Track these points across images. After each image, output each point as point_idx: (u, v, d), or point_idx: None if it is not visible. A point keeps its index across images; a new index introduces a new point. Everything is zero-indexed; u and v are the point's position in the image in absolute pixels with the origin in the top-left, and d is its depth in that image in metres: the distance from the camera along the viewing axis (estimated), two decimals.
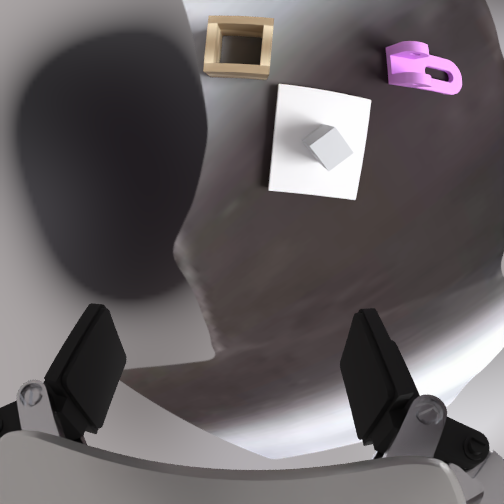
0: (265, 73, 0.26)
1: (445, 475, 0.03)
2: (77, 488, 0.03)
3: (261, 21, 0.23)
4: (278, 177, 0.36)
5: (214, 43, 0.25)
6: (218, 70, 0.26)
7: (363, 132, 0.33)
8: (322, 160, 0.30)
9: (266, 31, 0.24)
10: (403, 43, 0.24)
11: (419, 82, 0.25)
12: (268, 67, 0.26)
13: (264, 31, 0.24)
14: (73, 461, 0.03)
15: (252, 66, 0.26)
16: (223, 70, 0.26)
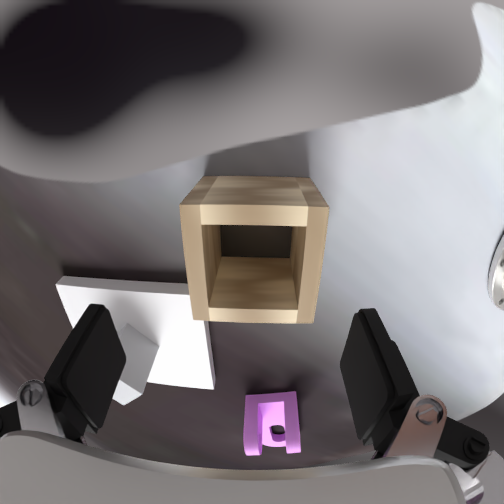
0: (194, 314, 0.16)
1: (445, 475, 0.03)
2: (77, 488, 0.03)
3: (306, 305, 0.16)
4: (73, 296, 0.22)
5: (252, 222, 0.14)
6: (185, 236, 0.14)
7: (169, 382, 0.27)
8: None
9: (282, 314, 0.16)
10: (296, 432, 0.24)
11: (246, 450, 0.24)
12: (206, 319, 0.16)
13: (283, 311, 0.16)
14: (73, 461, 0.03)
15: (203, 295, 0.16)
16: (186, 246, 0.14)
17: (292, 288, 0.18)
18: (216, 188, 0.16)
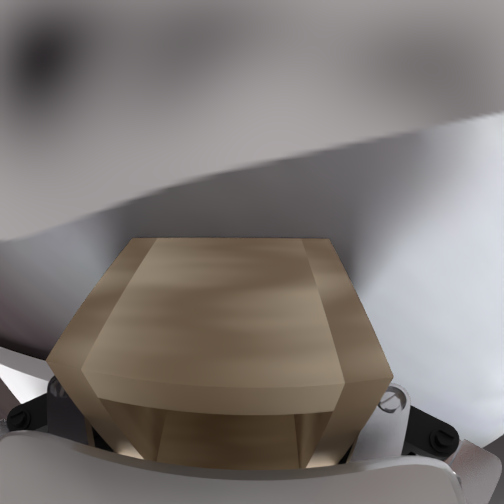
0: None
1: (445, 475, 0.03)
2: (77, 488, 0.03)
3: None
4: (8, 375, 0.13)
5: None
6: (79, 404, 0.05)
7: None
8: None
9: None
10: None
11: None
12: None
13: None
14: (73, 461, 0.03)
15: None
16: (87, 415, 0.06)
17: (292, 429, 0.09)
18: (137, 289, 0.07)
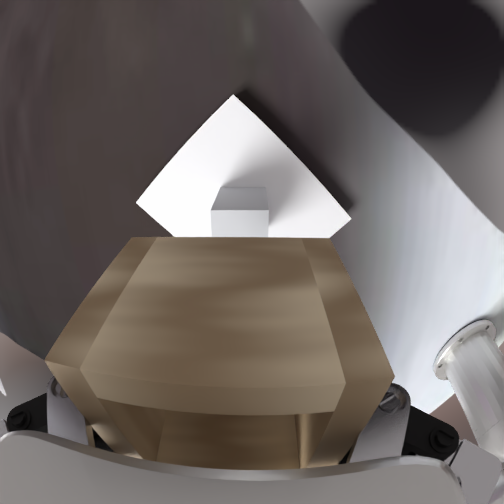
0: None
1: (445, 475, 0.03)
2: (77, 488, 0.03)
3: None
4: (240, 121, 0.20)
5: None
6: (78, 404, 0.05)
7: None
8: (233, 212, 0.18)
9: None
10: None
11: None
12: None
13: None
14: (73, 461, 0.03)
15: None
16: (86, 415, 0.06)
17: (292, 430, 0.09)
18: (136, 288, 0.07)
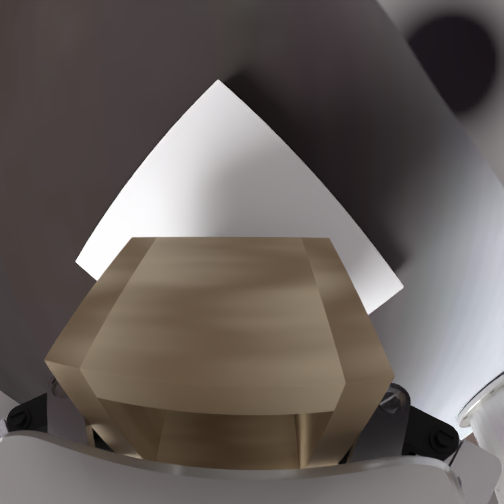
0: None
1: (445, 475, 0.03)
2: (77, 488, 0.03)
3: None
4: (231, 128, 0.11)
5: None
6: (77, 404, 0.05)
7: None
8: None
9: None
10: None
11: None
12: None
13: None
14: (73, 461, 0.03)
15: None
16: (86, 415, 0.06)
17: (292, 430, 0.09)
18: (136, 288, 0.07)
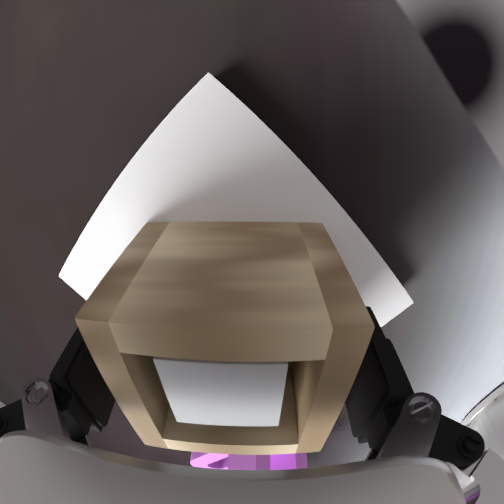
0: (144, 440, 0.09)
1: (445, 475, 0.03)
2: (77, 488, 0.03)
3: (312, 439, 0.09)
4: (223, 128, 0.10)
5: (215, 355, 0.06)
6: (99, 363, 0.07)
7: None
8: (206, 366, 0.07)
9: (275, 448, 0.09)
10: None
11: None
12: (163, 446, 0.09)
13: (275, 446, 0.09)
14: (73, 461, 0.03)
15: (151, 428, 0.08)
16: (105, 375, 0.07)
17: (290, 399, 0.11)
18: (155, 261, 0.08)
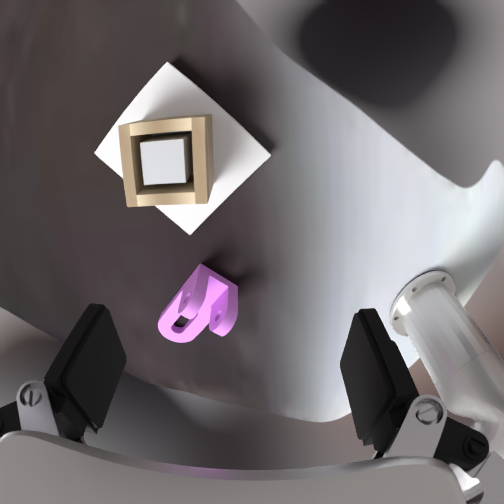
0: (127, 202, 0.23)
1: (445, 475, 0.03)
2: (77, 488, 0.03)
3: (200, 188, 0.22)
4: (172, 81, 0.23)
5: (159, 131, 0.20)
6: (121, 144, 0.20)
7: None
8: (157, 143, 0.21)
9: (184, 196, 0.23)
10: (235, 313, 0.32)
11: (188, 304, 0.29)
12: (135, 205, 0.23)
13: (184, 194, 0.23)
14: (73, 461, 0.03)
15: (132, 186, 0.22)
16: (121, 151, 0.20)
17: None
18: (144, 120, 0.22)
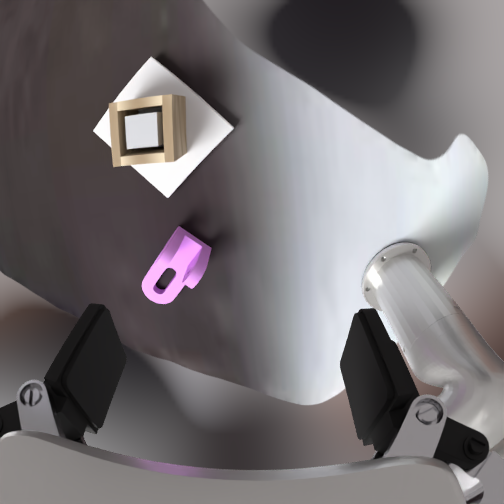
0: (113, 163, 0.27)
1: (445, 475, 0.03)
2: (77, 488, 0.03)
3: (168, 149, 0.27)
4: (154, 72, 0.28)
5: (138, 107, 0.25)
6: (110, 118, 0.25)
7: (144, 172, 0.34)
8: (137, 116, 0.25)
9: (156, 156, 0.27)
10: (204, 266, 0.36)
11: (162, 255, 0.33)
12: (119, 165, 0.27)
13: (156, 154, 0.27)
14: (73, 461, 0.03)
15: (118, 149, 0.27)
16: (110, 122, 0.25)
17: None
18: None
